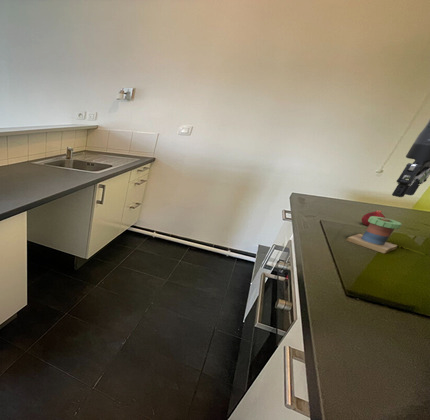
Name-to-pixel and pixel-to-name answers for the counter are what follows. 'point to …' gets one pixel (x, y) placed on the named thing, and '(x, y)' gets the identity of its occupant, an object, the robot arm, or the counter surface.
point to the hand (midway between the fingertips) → (402, 195)
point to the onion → (367, 216)
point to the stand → (375, 238)
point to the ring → (384, 222)
